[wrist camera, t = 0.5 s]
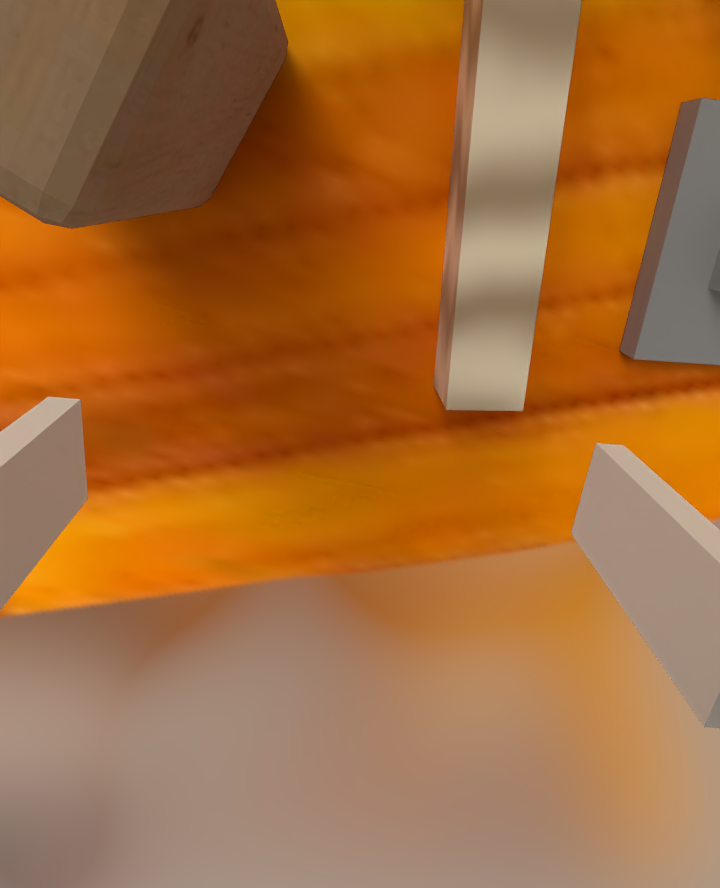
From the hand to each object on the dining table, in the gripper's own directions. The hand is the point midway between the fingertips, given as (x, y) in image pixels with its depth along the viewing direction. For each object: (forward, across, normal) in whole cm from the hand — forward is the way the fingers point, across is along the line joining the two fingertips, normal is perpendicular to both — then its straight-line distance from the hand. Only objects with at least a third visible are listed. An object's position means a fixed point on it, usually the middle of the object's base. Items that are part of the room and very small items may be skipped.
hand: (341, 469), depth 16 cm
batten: (+24, +8, +8) cm, 26 cm away
